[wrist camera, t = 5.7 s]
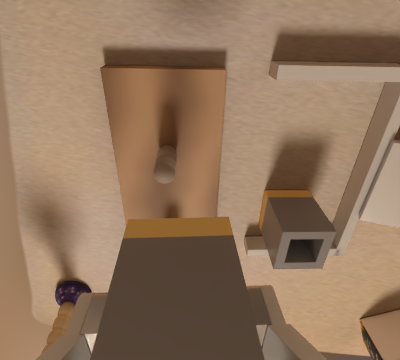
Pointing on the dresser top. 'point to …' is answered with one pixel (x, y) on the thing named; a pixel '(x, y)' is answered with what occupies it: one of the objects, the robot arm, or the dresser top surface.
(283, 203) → the sleeve
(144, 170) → the pin board
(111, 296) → the sleeve
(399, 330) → the medicine bottle
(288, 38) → the dresser top surface
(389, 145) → the tray
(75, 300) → the toy lamp
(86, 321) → the robot arm
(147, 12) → the dresser top surface
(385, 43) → the dresser top surface
